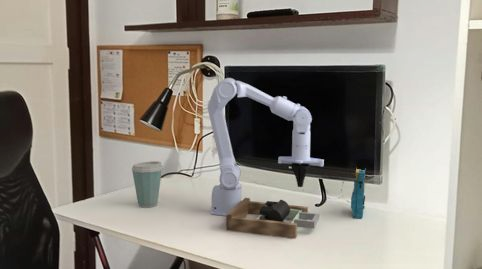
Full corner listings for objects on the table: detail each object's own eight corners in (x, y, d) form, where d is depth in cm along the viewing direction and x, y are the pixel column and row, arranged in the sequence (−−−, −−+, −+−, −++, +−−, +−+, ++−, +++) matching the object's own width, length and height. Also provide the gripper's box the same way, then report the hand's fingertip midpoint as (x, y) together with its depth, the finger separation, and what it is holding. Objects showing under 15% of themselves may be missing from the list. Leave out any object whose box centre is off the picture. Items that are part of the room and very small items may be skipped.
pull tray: (254, 230, 150) (254, 219, 150) (267, 215, 164) (267, 205, 163) (312, 237, 145) (312, 225, 144) (320, 221, 158) (320, 210, 158)
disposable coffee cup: (127, 208, 172) (126, 165, 169) (139, 199, 182) (137, 158, 180) (158, 210, 170) (156, 166, 168) (167, 201, 181) (166, 159, 178)
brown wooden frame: (226, 230, 151) (226, 214, 150) (245, 212, 168) (245, 197, 167) (295, 238, 145) (295, 221, 144) (307, 218, 161) (308, 203, 161)
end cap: (282, 231, 151) (282, 209, 149) (259, 229, 153) (259, 207, 152) (289, 221, 160) (290, 200, 159) (268, 218, 162) (268, 198, 161)
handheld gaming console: (363, 219, 161) (365, 173, 159) (350, 218, 162) (352, 172, 160) (364, 210, 170) (366, 166, 168) (352, 209, 171) (353, 165, 169)
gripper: (276, 145, 161) (275, 187, 163) (321, 148, 156) (320, 191, 159) (281, 142, 168) (280, 182, 170) (325, 144, 163) (324, 185, 165)
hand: (300, 186), depth 165 cm, fingers closed
